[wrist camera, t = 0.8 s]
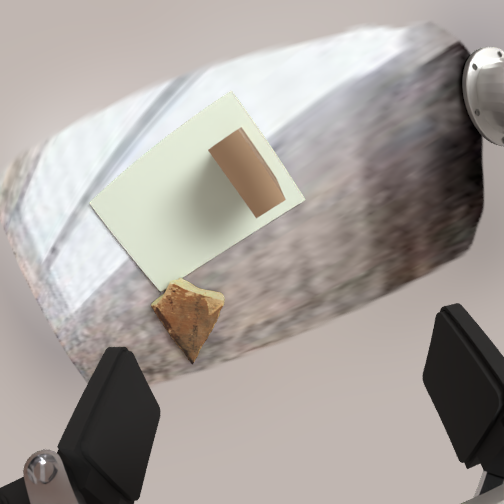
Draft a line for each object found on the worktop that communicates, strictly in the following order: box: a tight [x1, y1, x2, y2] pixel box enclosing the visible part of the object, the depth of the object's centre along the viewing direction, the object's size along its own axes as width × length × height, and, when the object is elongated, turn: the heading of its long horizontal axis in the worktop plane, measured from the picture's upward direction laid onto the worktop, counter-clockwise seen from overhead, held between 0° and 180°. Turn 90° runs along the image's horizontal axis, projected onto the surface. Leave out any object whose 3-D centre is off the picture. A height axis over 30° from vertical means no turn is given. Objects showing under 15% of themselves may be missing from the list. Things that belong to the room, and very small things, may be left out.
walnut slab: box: [208, 127, 286, 218], centre depth 26 cm, size 2×6×9 cm, turn 34°
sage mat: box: [89, 91, 305, 292], centre depth 32 cm, size 19×13×1 cm
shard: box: [151, 278, 225, 364], centre depth 37 cm, size 11×8×2 cm
